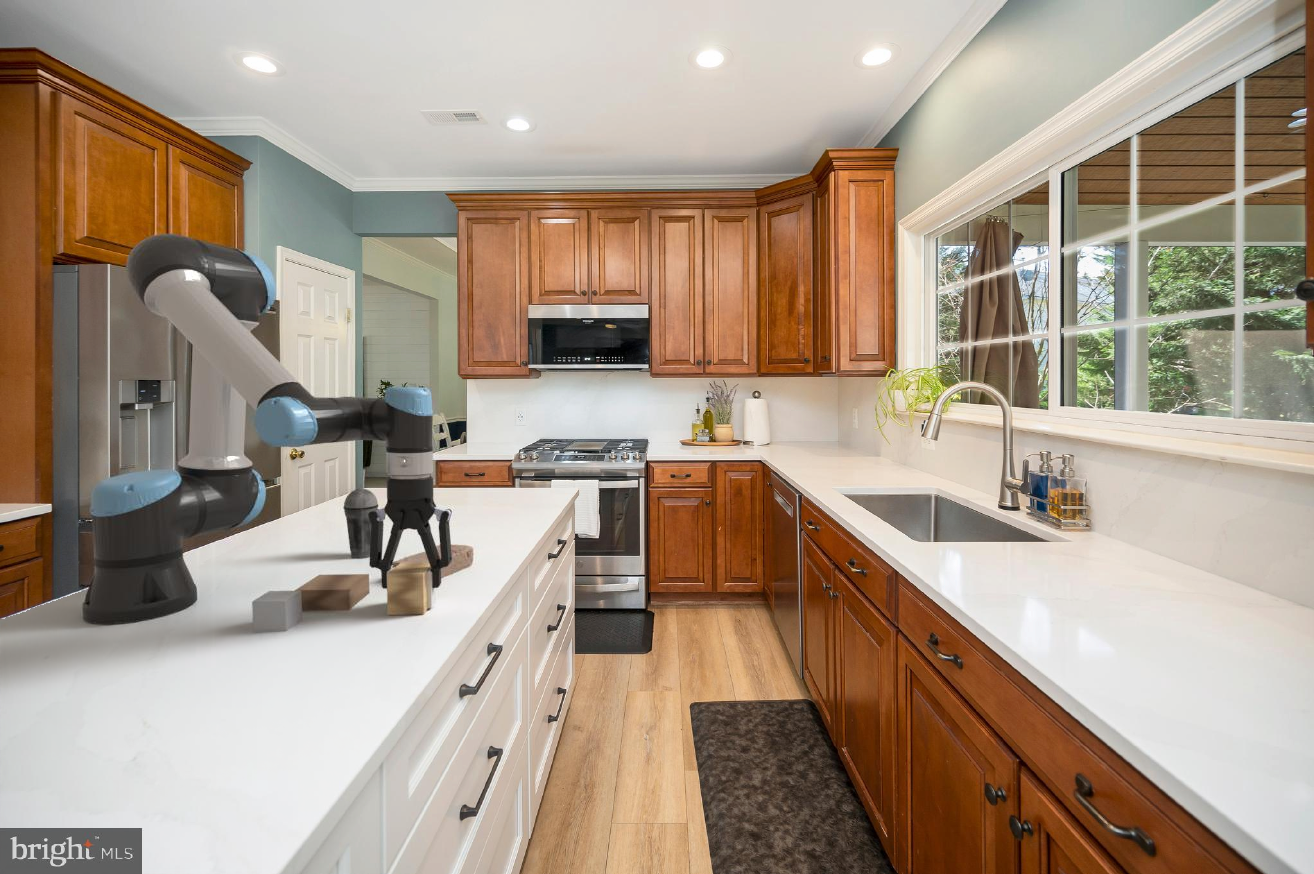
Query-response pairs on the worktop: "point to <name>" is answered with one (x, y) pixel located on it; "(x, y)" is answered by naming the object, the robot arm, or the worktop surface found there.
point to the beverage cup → (359, 520)
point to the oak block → (407, 589)
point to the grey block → (277, 611)
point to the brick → (460, 558)
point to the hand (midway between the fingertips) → (412, 605)
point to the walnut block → (334, 592)
